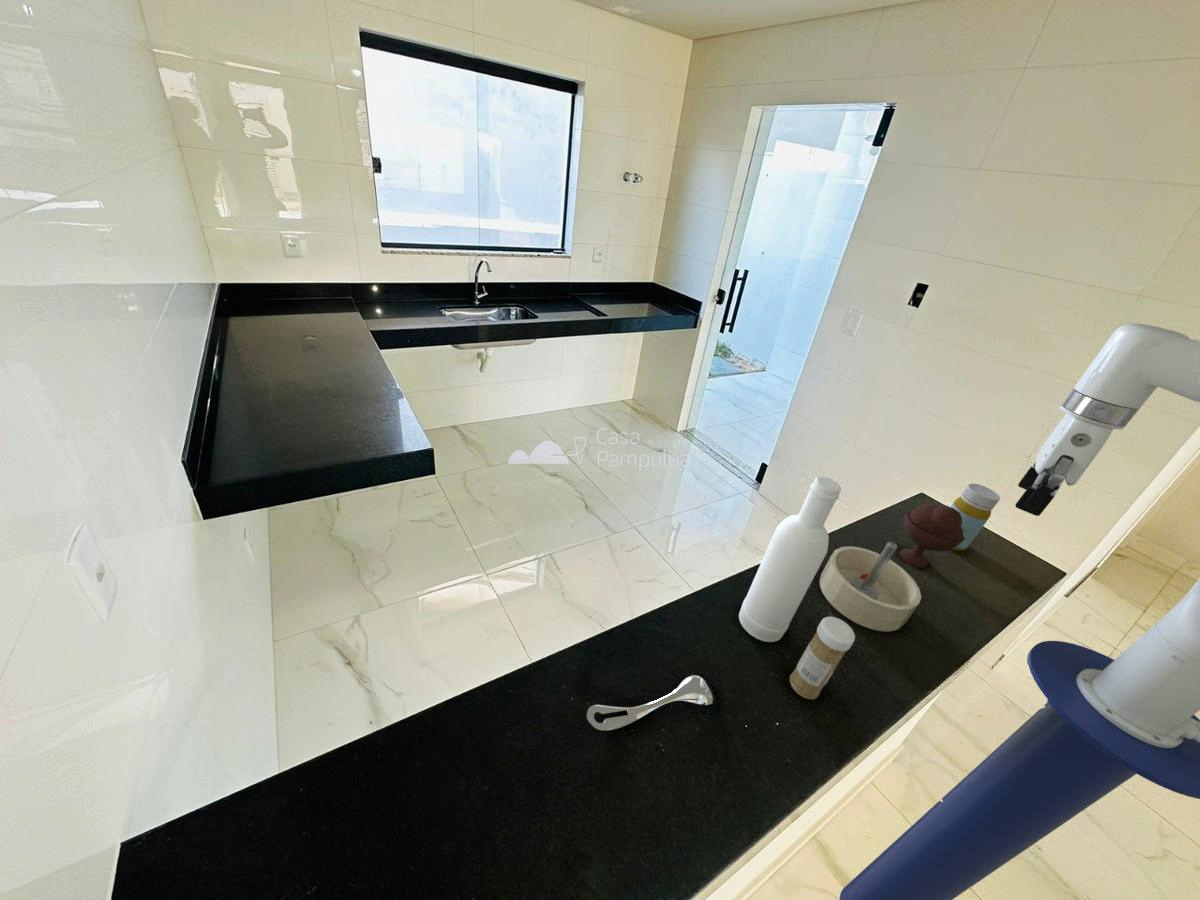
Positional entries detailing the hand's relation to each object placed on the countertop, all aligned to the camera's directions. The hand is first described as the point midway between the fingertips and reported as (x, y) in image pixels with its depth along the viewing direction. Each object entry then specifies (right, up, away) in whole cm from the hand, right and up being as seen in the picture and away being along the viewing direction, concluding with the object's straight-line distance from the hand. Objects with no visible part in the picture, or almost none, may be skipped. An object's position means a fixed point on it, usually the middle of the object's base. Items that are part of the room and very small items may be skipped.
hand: (1027, 500), depth 78 cm
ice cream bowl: (-2, -16, +25) cm, 30 cm away
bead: (-19, -17, +14) cm, 29 cm away
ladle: (-21, -20, +12) cm, 31 cm away
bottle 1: (-44, -22, +3) cm, 49 cm away
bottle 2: (+11, -14, +33) cm, 37 cm away
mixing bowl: (-21, -20, +12) cm, 32 cm away
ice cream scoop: (-65, -28, -13) cm, 72 cm away
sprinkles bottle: (-41, -28, -7) cm, 50 cm away
